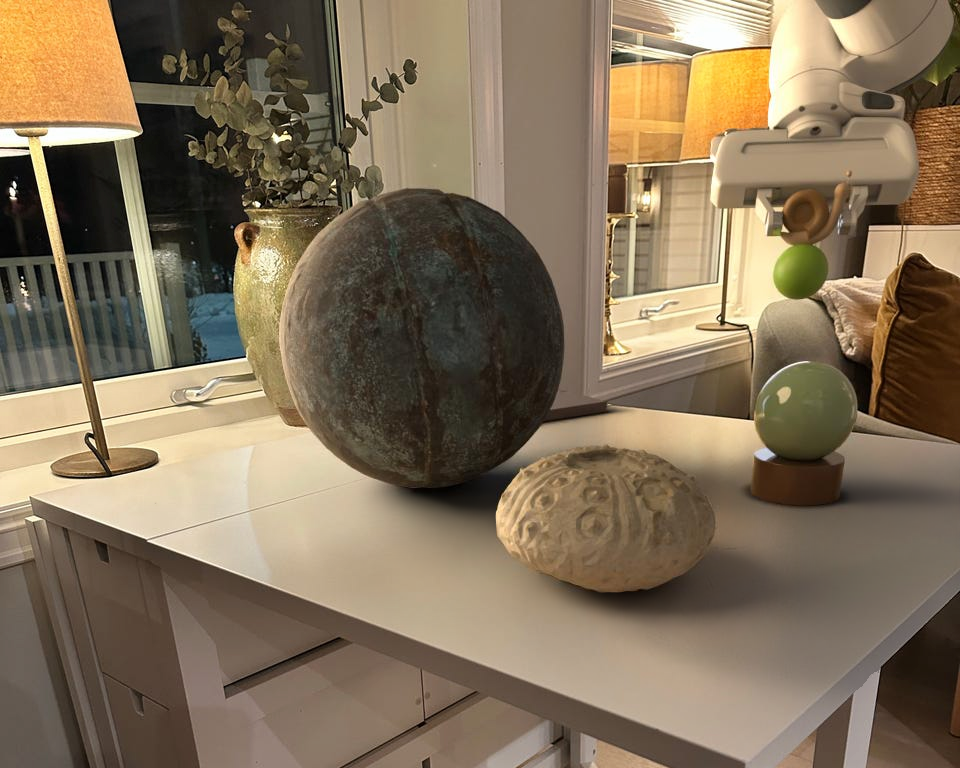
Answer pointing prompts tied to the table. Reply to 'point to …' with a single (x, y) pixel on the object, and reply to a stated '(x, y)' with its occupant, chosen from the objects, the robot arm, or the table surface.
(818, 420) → the ball stand
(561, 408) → the notebook
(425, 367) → the metal sphere
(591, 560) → the decorative shell
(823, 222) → the snail figurine
